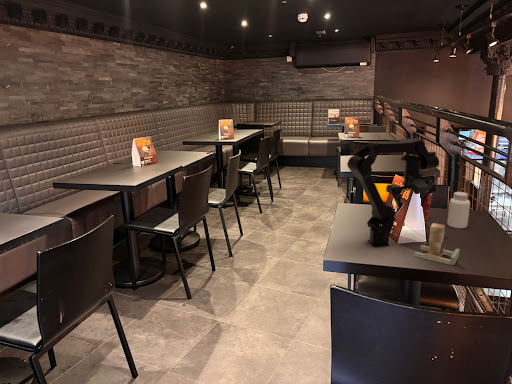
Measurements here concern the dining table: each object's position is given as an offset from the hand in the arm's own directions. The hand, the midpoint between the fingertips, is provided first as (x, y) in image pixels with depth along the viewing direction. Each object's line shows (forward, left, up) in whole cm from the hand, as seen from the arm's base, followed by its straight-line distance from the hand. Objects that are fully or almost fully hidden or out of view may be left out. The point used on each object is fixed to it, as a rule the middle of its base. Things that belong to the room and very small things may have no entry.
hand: (409, 208), depth 150 cm
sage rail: (+1, -18, -13) cm, 22 cm away
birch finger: (+1, -18, -13) cm, 22 cm away
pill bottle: (+28, +9, -13) cm, 32 cm away
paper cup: (+18, +21, -13) cm, 31 cm away
